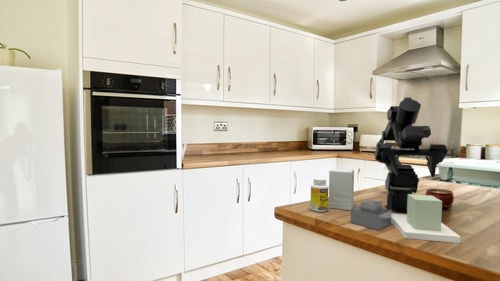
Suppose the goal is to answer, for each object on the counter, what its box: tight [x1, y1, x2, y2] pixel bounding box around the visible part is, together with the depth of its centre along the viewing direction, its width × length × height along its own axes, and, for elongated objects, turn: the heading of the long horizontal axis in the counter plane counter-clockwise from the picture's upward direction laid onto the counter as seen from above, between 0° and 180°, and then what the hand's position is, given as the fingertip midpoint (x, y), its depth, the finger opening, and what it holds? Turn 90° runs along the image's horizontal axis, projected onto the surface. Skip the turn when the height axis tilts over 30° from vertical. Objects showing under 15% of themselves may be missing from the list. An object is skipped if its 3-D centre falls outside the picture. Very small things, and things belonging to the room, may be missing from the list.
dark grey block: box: [350, 199, 393, 231], centre depth 81 cm, size 8×8×6 cm
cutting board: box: [391, 212, 461, 244], centre depth 77 cm, size 16×12×2 cm
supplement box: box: [328, 167, 355, 211], centre depth 98 cm, size 7×7×13 cm
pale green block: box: [406, 193, 443, 231], centre depth 75 cm, size 6×6×8 cm
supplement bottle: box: [310, 177, 329, 213], centre depth 94 cm, size 6×6×10 cm
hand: (415, 175), depth 82 cm, fingers open, 9 cm apart
